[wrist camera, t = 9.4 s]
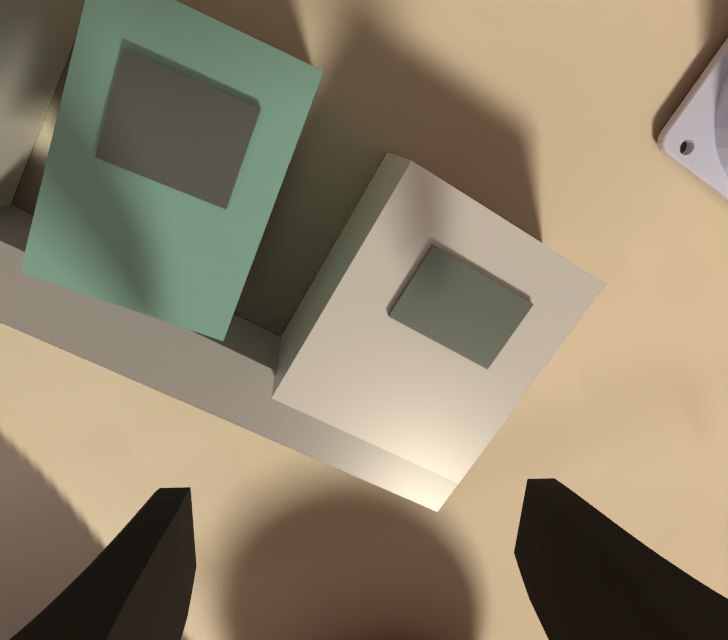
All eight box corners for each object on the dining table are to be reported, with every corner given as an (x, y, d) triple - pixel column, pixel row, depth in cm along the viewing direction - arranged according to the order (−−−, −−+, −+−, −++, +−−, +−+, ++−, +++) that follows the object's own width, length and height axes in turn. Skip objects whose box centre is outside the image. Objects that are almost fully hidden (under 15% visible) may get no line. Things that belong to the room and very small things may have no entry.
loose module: (317, 87, 18) (324, 70, 12) (246, 278, 20) (222, 344, 14) (165, 16, 16) (90, -42, 11) (106, 226, 18) (16, 274, 13)
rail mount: (563, 262, 20) (634, 301, 16) (421, 464, 23) (448, 545, 19) (-206, -222, 14) (-447, -384, 9) (-288, 140, 16) (-507, 147, 12)
